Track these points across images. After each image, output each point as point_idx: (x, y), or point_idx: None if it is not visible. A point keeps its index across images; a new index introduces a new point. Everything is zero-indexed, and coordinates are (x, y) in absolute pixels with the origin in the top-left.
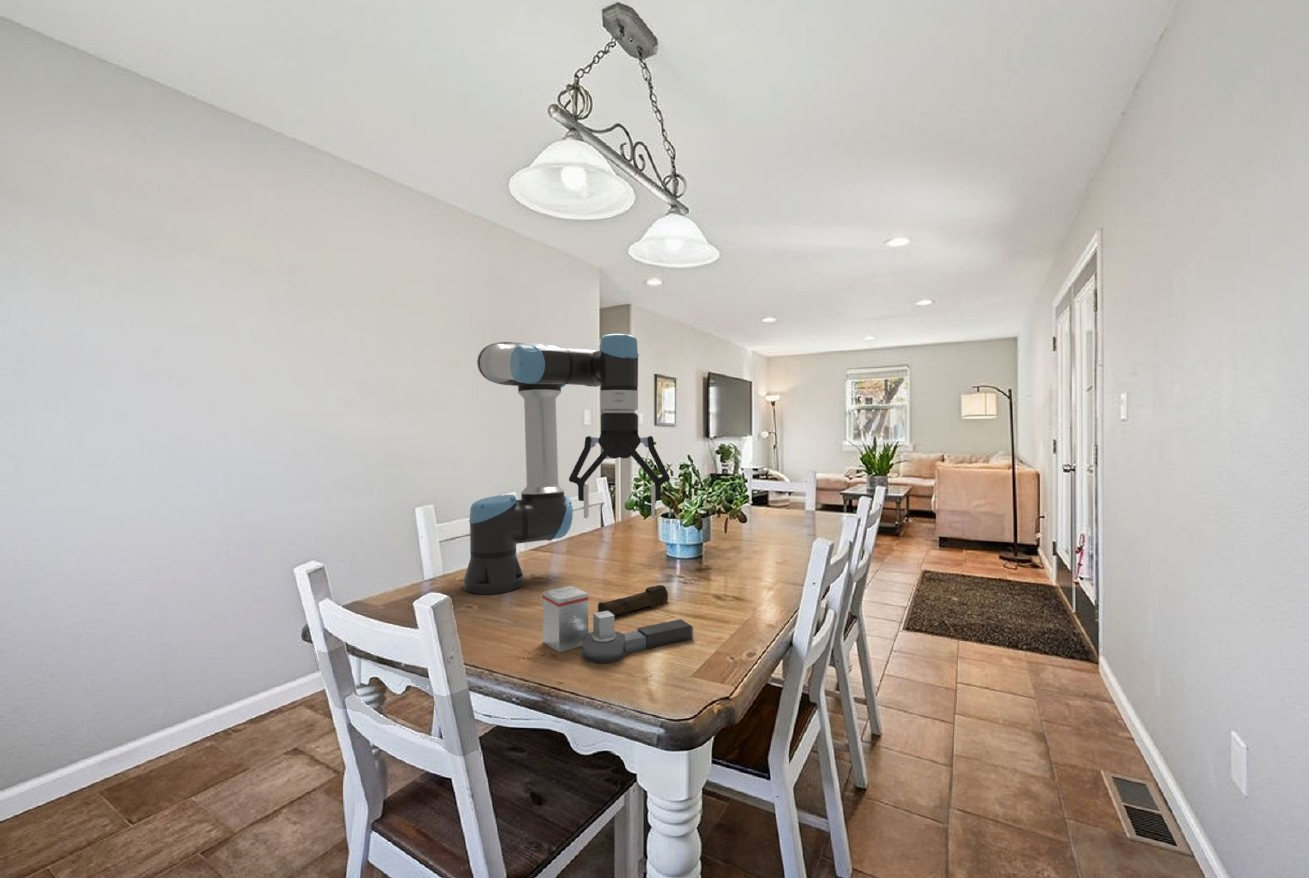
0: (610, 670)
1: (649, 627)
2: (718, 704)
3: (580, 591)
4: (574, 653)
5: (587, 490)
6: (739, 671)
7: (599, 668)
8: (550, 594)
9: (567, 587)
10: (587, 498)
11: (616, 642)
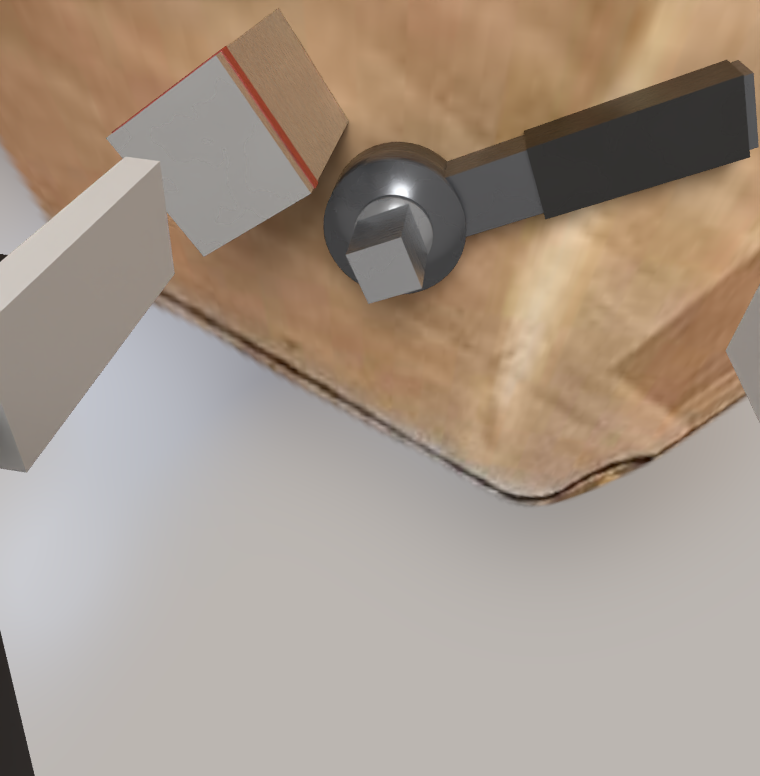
0: (412, 309)
1: (574, 152)
2: (617, 474)
3: (274, 160)
4: None
5: (53, 421)
6: None
7: None
8: None
9: (202, 85)
10: (97, 367)
11: (432, 270)
